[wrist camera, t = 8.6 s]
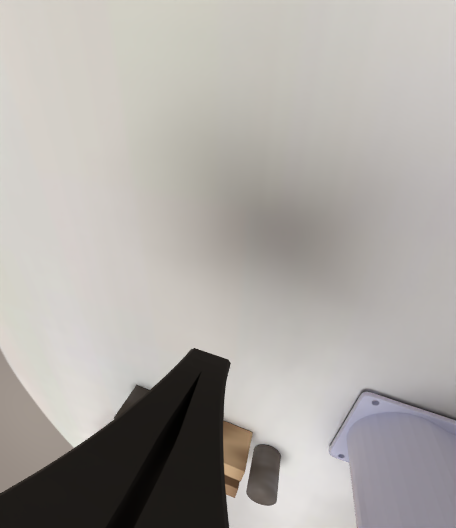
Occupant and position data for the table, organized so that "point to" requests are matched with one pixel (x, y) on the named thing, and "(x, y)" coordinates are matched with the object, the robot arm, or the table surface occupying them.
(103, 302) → the table surface
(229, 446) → the wooden bar grey ends
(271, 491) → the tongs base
